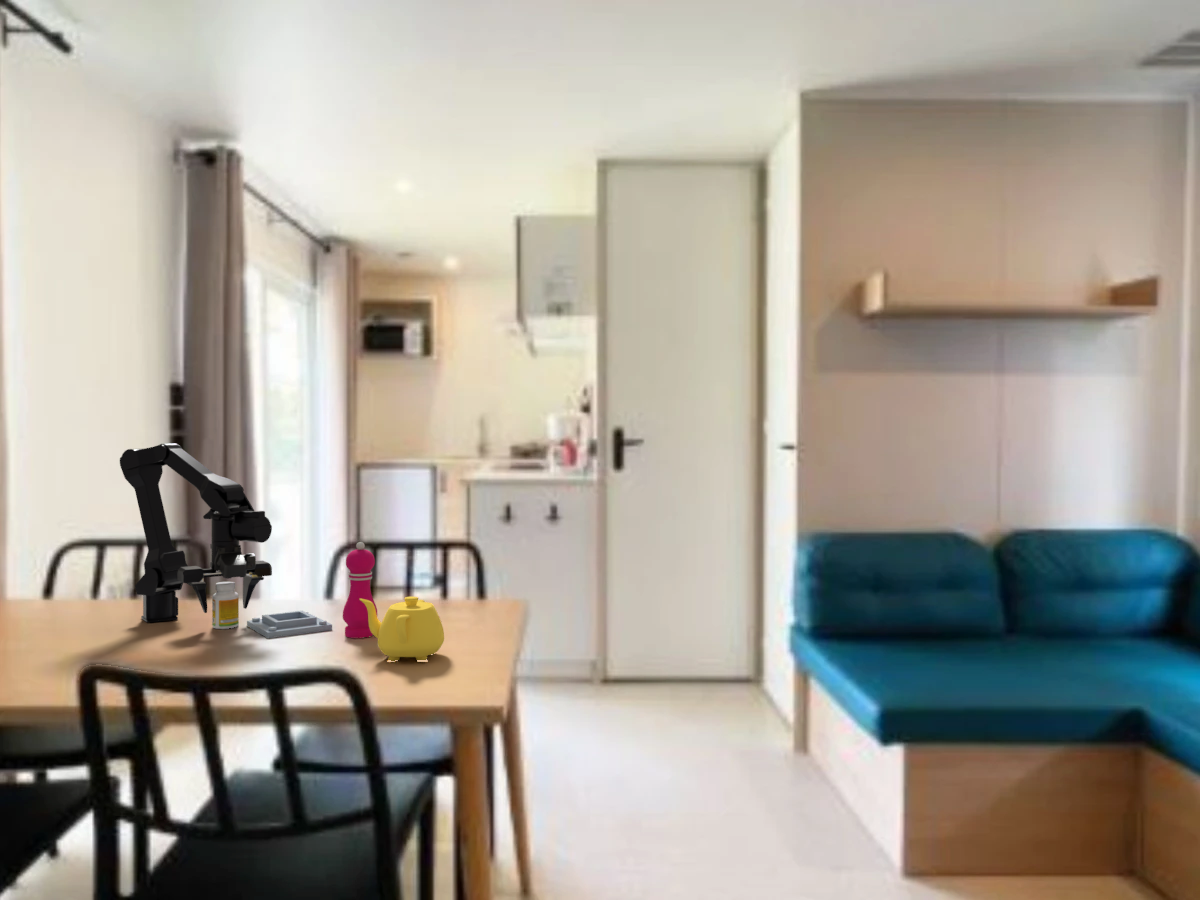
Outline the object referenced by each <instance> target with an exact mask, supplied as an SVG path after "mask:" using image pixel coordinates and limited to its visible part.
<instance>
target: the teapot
mask: <svg viewBox="0 0 1200 900" xmlns="http://www.w3.org/2000/svg"><path fill="white" fill-rule="evenodd" d="M360 600H361V601H362V602H363V603H364V604H365V605H366V607H367V610H368V622H369V628H370V631H371V632H372V634H373V635H374V636H373V637H375V638H377V646H378V649H379V650H380V652H381V653H382V654H384V655H385V656H387V657H388V658H387V659H388V660H391V661H395V660H399V661H400V659H401V658H415V661H416V660H426V659H427V658H428V655H431V654H434V653H435V654H436V653H437V652H438V651H439V650H440V648H441V647H442V645H443V644H444V642H445V632H444V626H443V623H442V621H441V618H440V615H439V614H438V612H437V609H436V607H435V605H434V604H433V603H432V602H429V601H428V602H427V601H425V600H424V599H419V597H418V596H406V597H404V601H399V602H397V603H392V604H391V605H390V606H389V607H388V609H387V610H386V612H385V614H384V616H383V617H382V618H383V619H382V621H380V620H379V618H378V614H377V615H376V610H375V606H374V604H373V603H372V602H371V601H369V600H366V599H360ZM431 656H432V655H431Z"/></svg>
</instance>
